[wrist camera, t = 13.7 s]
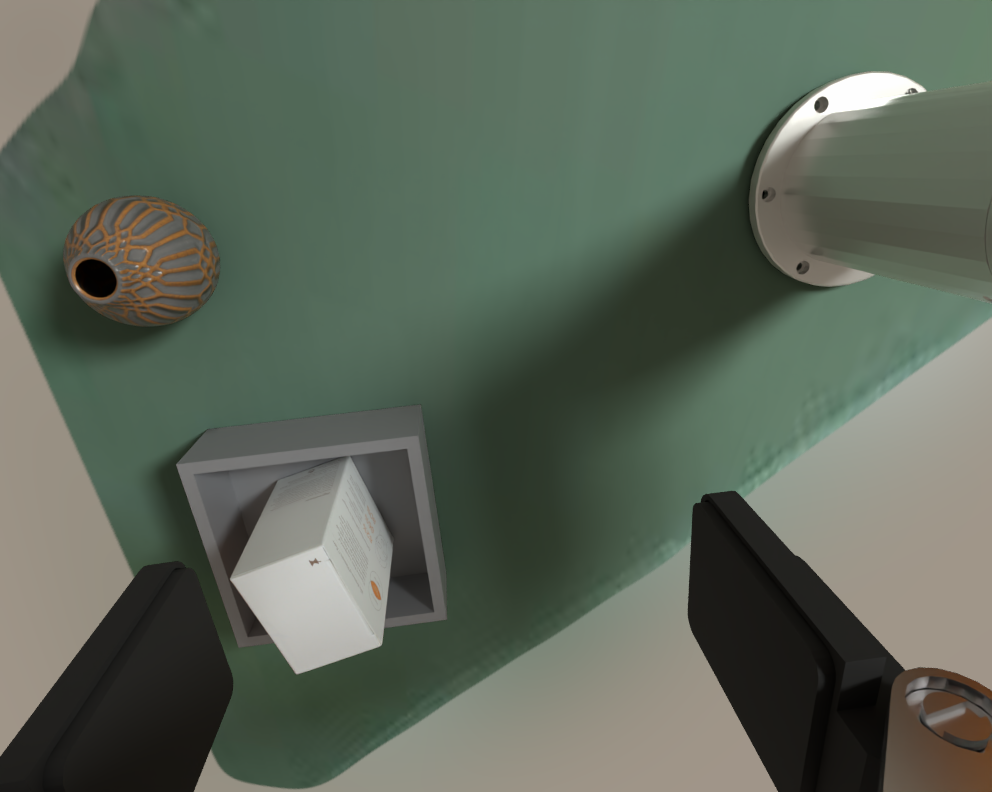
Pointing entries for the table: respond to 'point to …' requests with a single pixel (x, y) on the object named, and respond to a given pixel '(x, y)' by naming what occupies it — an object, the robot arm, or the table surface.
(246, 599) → the small box
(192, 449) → the bin
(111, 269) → the vase
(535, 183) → the table surface
